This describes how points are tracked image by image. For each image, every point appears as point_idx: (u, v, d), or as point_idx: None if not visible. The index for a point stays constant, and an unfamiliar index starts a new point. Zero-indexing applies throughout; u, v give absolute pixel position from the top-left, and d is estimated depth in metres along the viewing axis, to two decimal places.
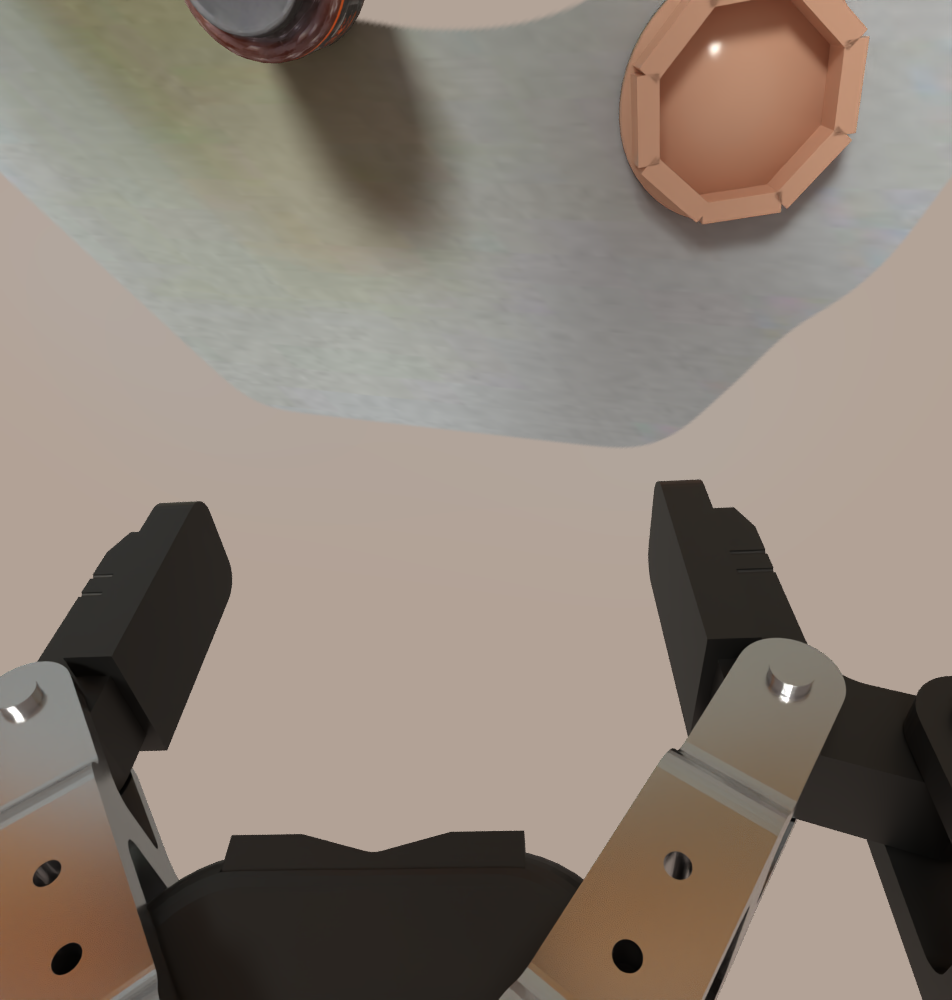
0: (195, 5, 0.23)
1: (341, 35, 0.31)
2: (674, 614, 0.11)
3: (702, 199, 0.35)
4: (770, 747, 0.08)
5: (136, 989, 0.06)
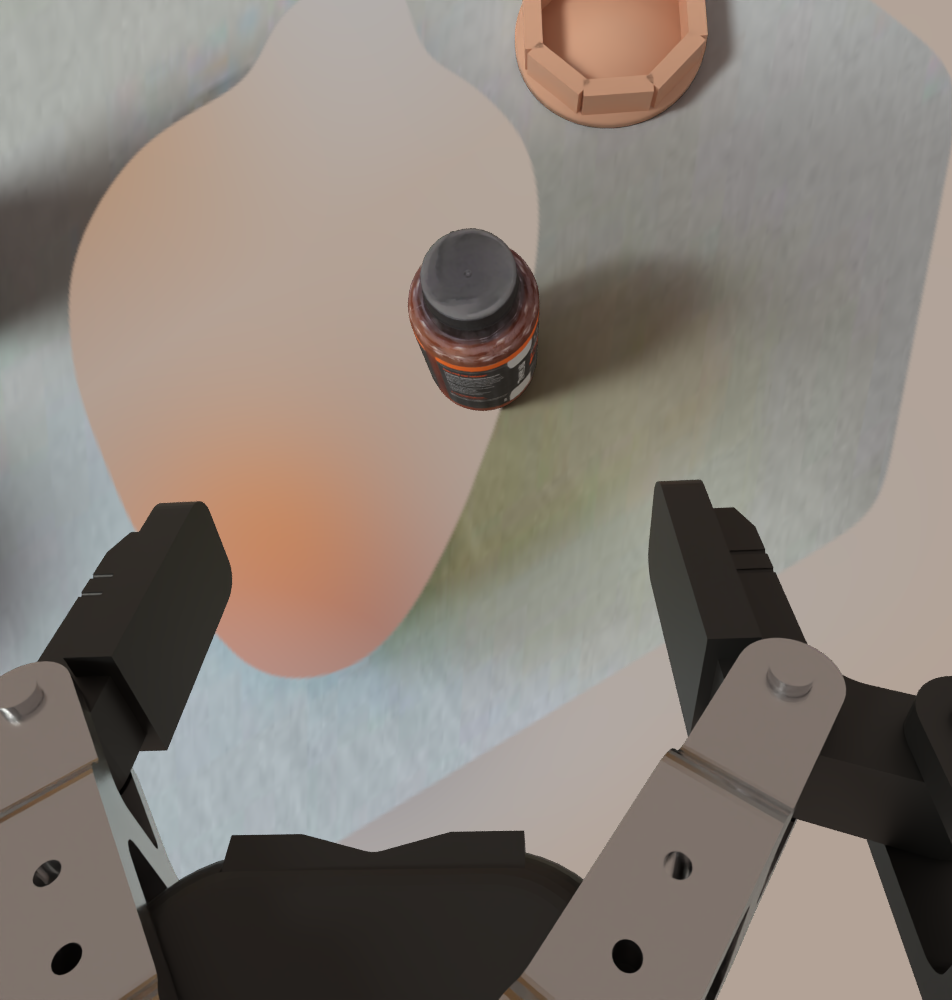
0: (491, 310, 0.29)
1: None
2: (674, 614, 0.11)
3: (685, 37, 0.39)
4: (769, 748, 0.08)
5: (136, 989, 0.06)
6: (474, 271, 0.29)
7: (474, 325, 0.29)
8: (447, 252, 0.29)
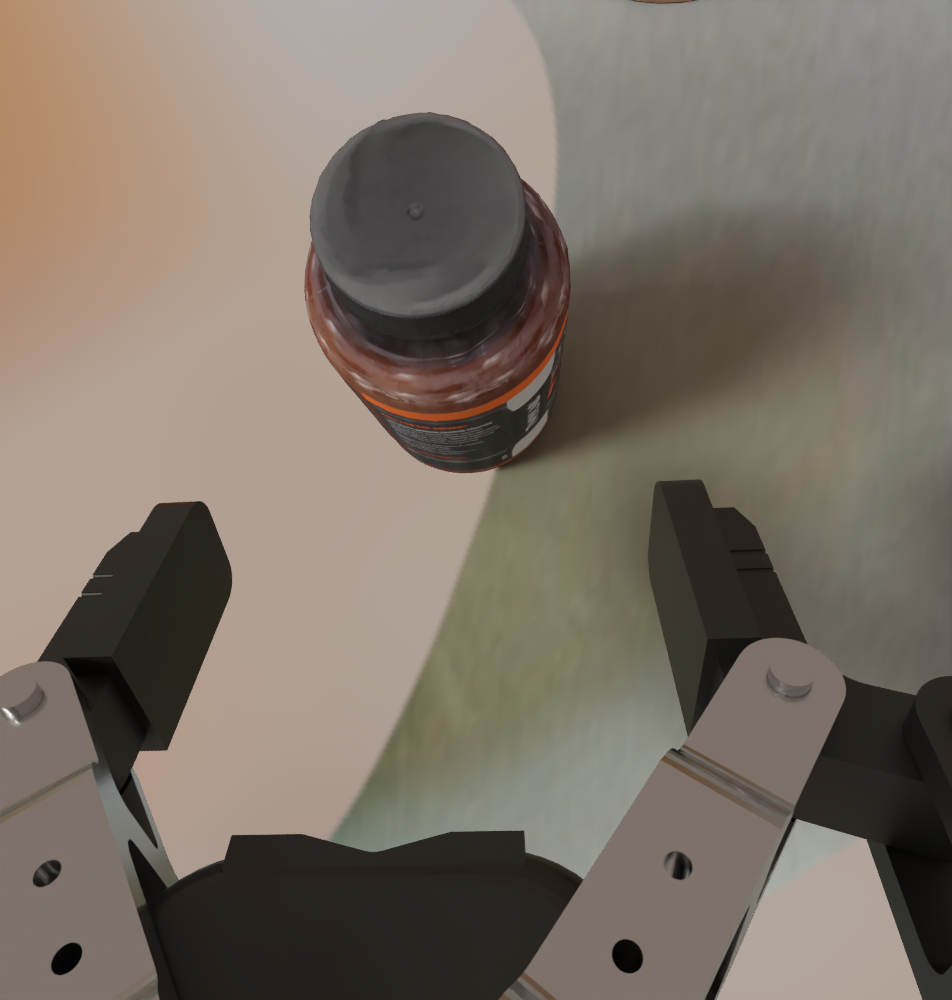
0: (468, 294, 0.13)
1: None
2: (674, 614, 0.11)
3: None
4: (769, 747, 0.08)
5: (136, 989, 0.06)
6: (430, 206, 0.13)
7: (432, 327, 0.13)
8: (370, 165, 0.13)
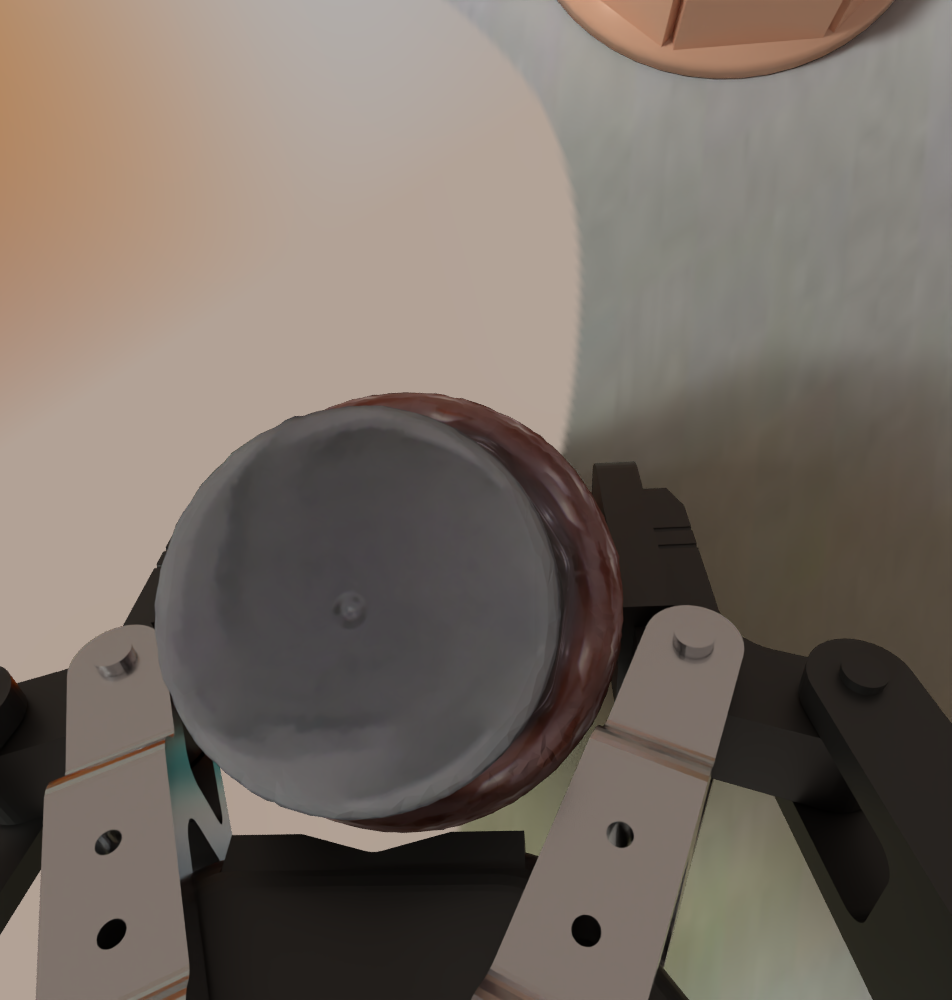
0: (449, 785, 0.07)
1: None
2: None
3: None
4: (685, 709, 0.08)
5: (136, 989, 0.06)
6: (378, 600, 0.07)
7: None
8: (267, 511, 0.07)
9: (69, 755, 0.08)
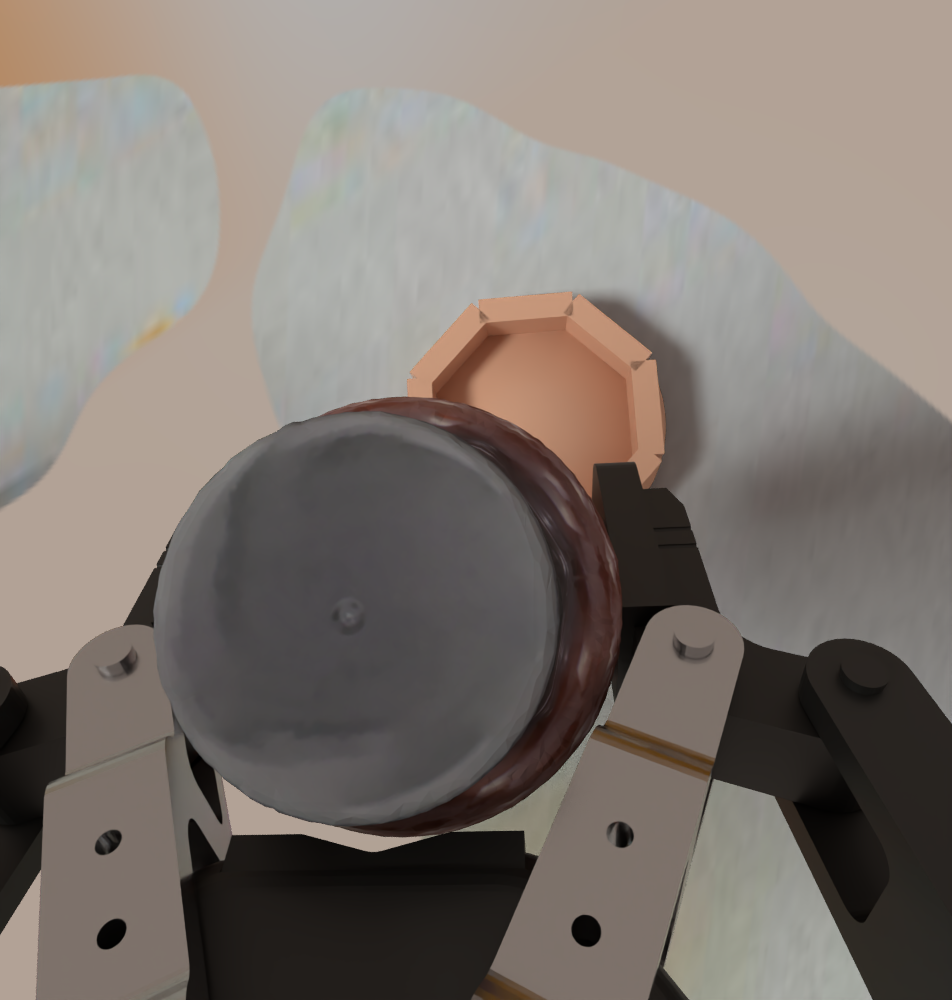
0: (448, 791, 0.07)
1: None
2: None
3: (634, 456, 0.28)
4: (685, 709, 0.08)
5: (136, 989, 0.06)
6: (377, 606, 0.07)
7: None
8: (266, 517, 0.07)
9: (69, 756, 0.08)
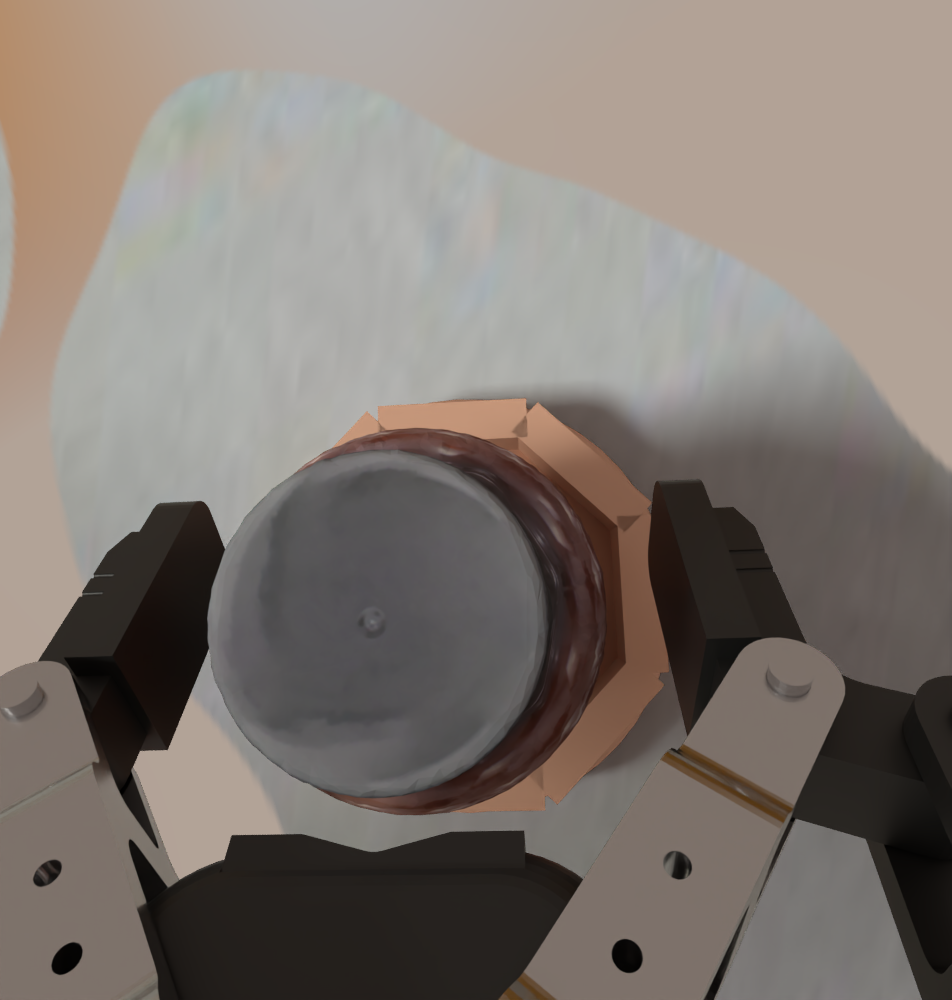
0: (455, 769, 0.08)
1: None
2: (673, 614, 0.11)
3: (618, 674, 0.17)
4: (769, 747, 0.08)
5: (136, 989, 0.06)
6: (395, 614, 0.08)
7: None
8: (302, 539, 0.08)
9: None
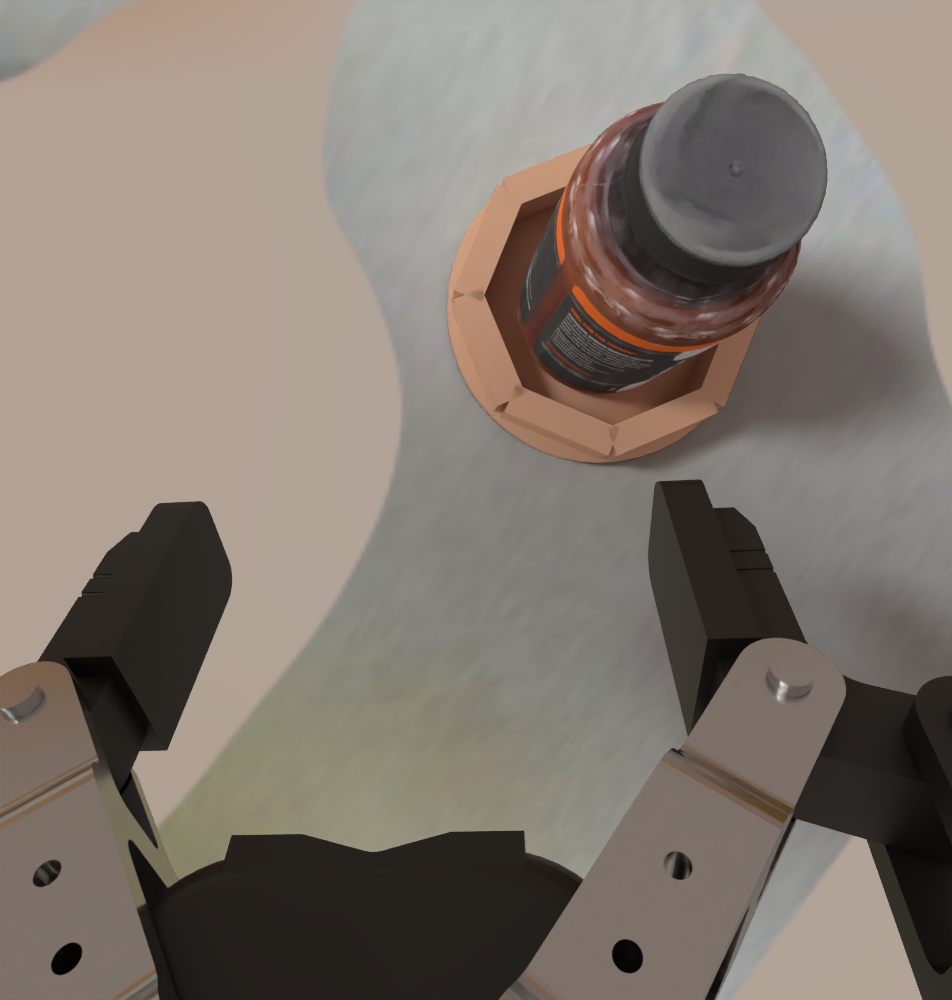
0: (745, 260, 0.14)
1: None
2: (674, 614, 0.11)
3: (692, 393, 0.24)
4: (769, 747, 0.08)
5: (136, 989, 0.06)
6: (749, 170, 0.14)
7: (695, 269, 0.15)
8: (717, 108, 0.14)
9: None
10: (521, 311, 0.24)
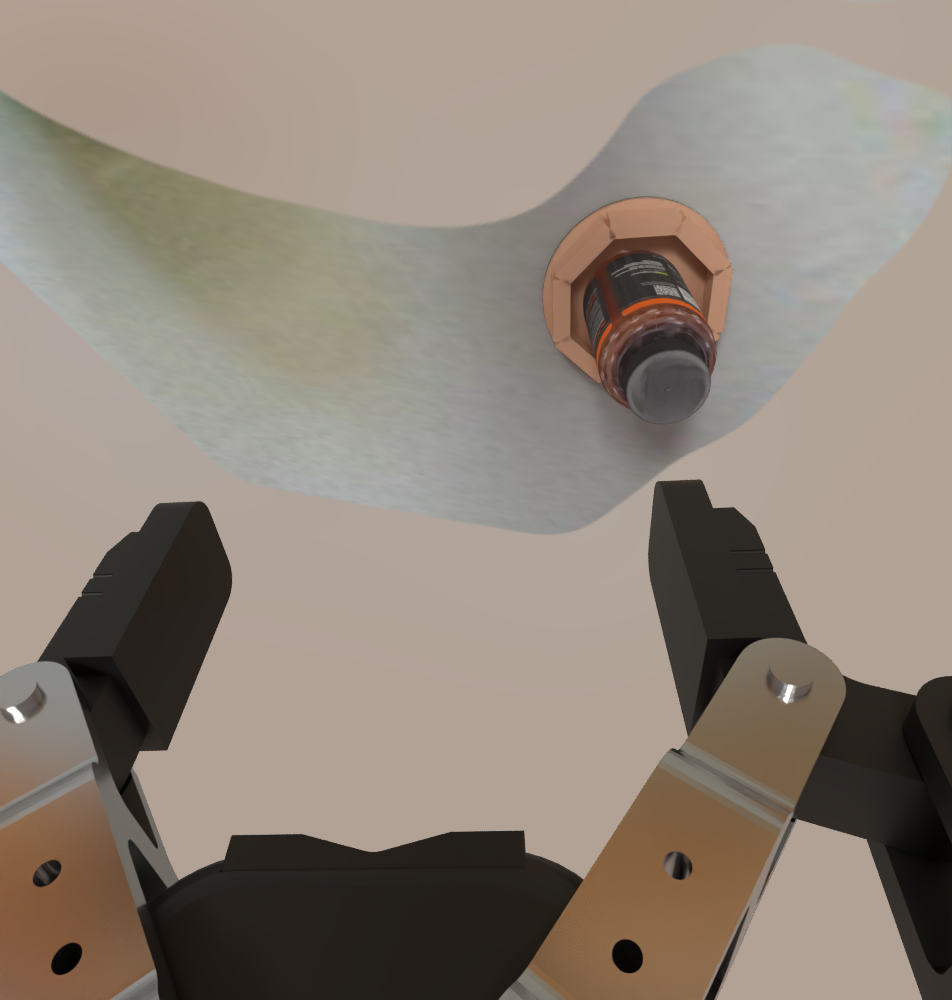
0: (631, 407, 0.34)
1: None
2: (674, 614, 0.11)
3: None
4: (769, 747, 0.08)
5: (136, 989, 0.06)
6: (668, 394, 0.34)
7: (624, 387, 0.35)
8: (690, 373, 0.33)
9: None
10: (613, 262, 0.40)
